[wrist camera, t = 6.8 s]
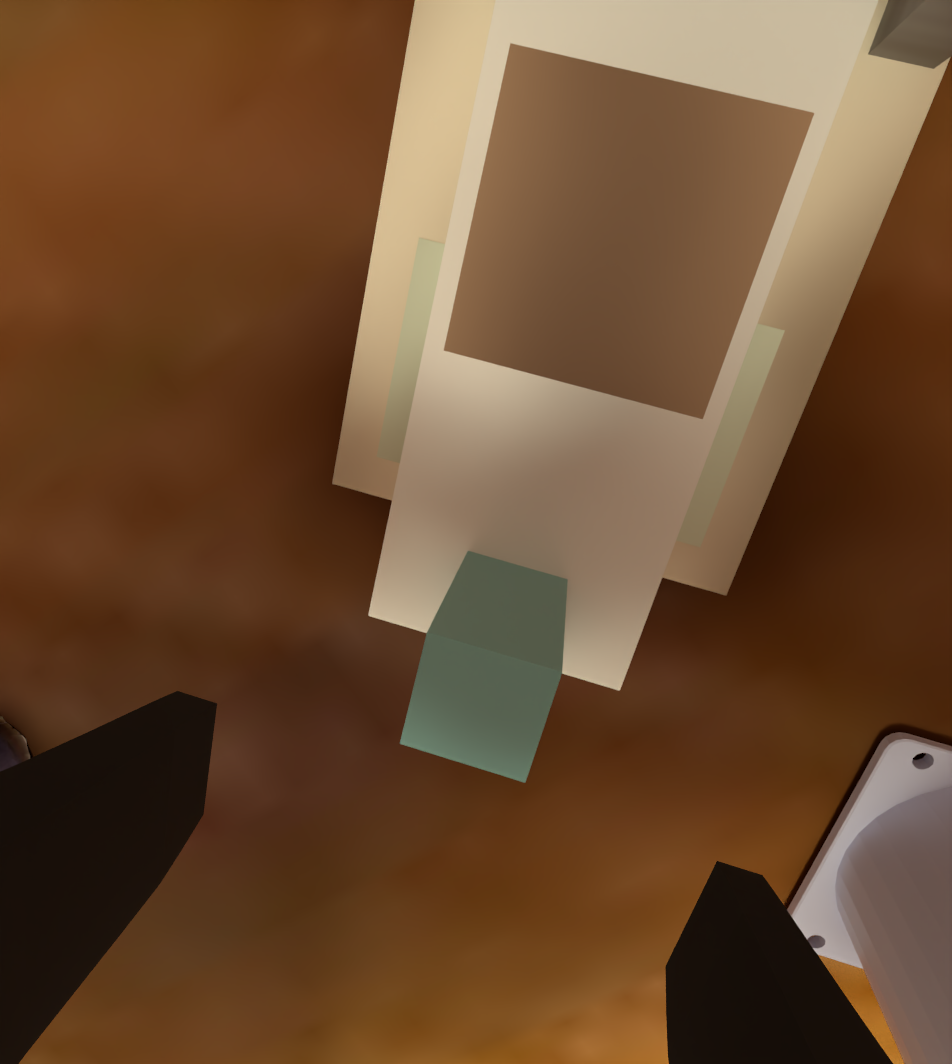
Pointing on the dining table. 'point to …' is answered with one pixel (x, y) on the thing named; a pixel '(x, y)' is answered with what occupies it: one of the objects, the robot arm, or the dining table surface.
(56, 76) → the dining table surface
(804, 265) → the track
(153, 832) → the robot arm
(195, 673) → the dining table surface
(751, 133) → the walnut block
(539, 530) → the block
